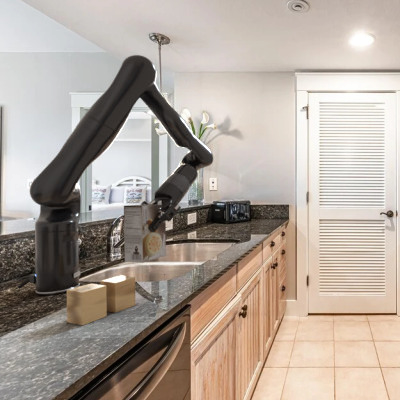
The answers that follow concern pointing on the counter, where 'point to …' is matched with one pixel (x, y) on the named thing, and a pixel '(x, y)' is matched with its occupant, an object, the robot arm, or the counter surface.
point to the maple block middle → (119, 293)
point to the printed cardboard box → (143, 233)
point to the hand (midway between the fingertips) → (141, 229)
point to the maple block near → (86, 304)
